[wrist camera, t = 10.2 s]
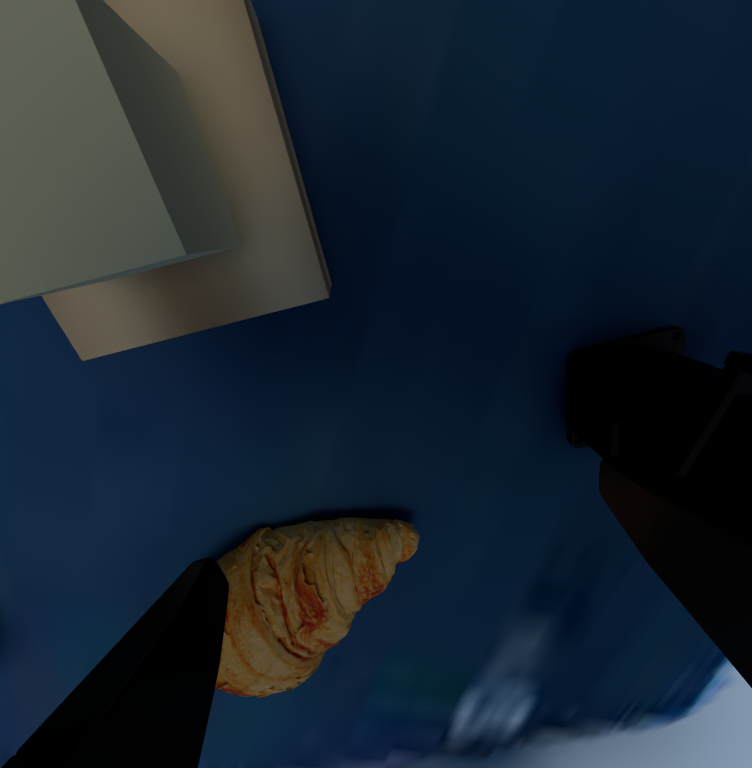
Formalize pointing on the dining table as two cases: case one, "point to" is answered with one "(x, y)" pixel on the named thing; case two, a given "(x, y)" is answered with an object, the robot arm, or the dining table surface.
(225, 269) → the birch plinth
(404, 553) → the croissant
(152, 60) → the sage cube
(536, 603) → the dining table surface
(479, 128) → the dining table surface
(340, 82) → the dining table surface
